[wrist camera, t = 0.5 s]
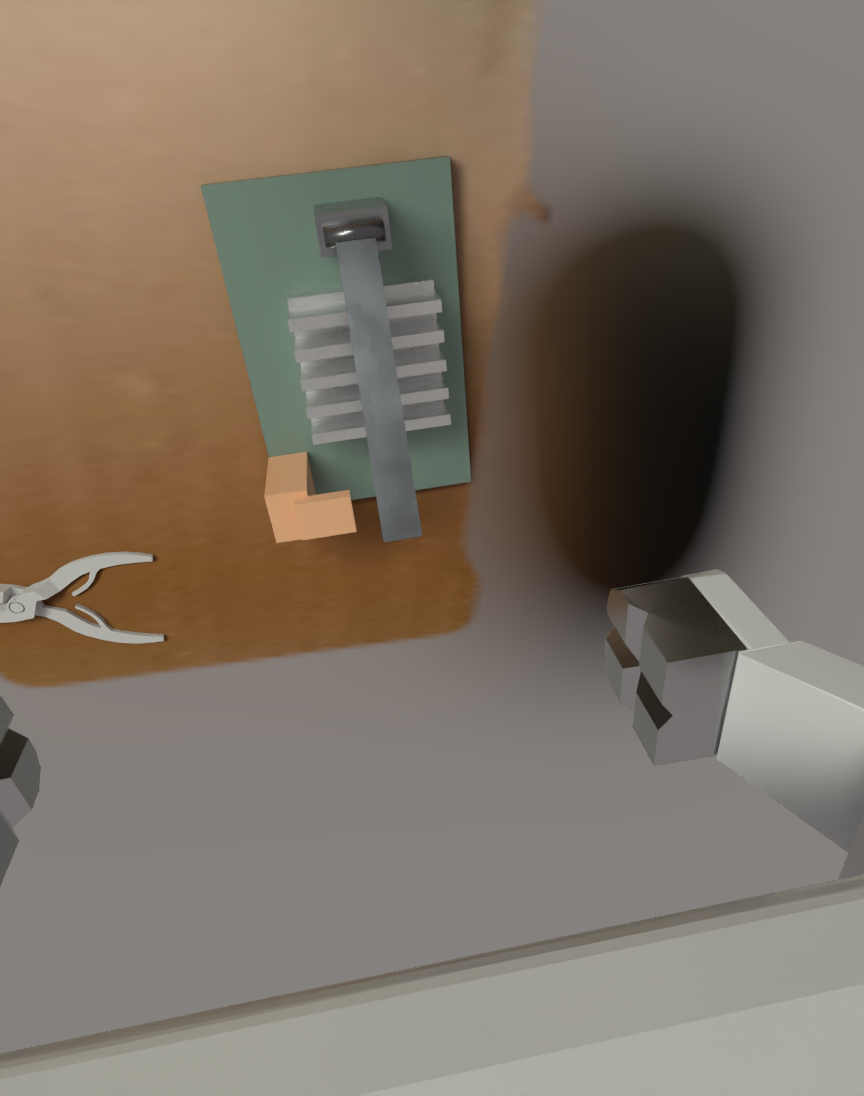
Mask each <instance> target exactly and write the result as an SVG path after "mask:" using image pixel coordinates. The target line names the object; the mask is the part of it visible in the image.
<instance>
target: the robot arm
mask: <svg viewBox="0 0 864 1096" xmlns="http://www.w3.org/2000/svg"><path fill="white" fill-rule="evenodd" d="M607 614H608V615H609V617H610V619H611V620H612V622H613V624H614V626H615V627H614V628H613V629H612V630H611V632H610V633H609V634H608V635H607V637H606V638H605V659H606V664H607V671H608V676H609V678H610V682H611V684H612V687H613V690H614V692H615V694H616V695H617V698H618V699H619V701H620V703H621V704H623V705H625V706H627V707H628V708H630V709H632V710H634V711H635V712H634V724H633V728H634V730H635V732H636V734H637V735H638V737H639V739H640V741H641V743H642V745H643V746H644V748H645V750H646V752H647V754H648V756H649V757H650V759H651V761H652V763H653V765H654V766H656V765H662V764H668V763H674V762H680V761H686V760H692V759H699V758H705V757H711V756H717V760H719V761H720V762H722V763H723V764H724V765H726V766H727V767H729V768H730V769H731V770H733V771H734V772H736V773H737V774H739V775H740V776H741V777H743V778H744V779H745V780H747V781H748V782H750V783H751V784H753V785H754V786H755V787H757V788H758V789H759V790H761V791H762V792H764V793H765V794H767V795H768V796H769V797H771V798H772V799H774V800H775V801H776V802H778V803H779V804H781V805H782V806H783V807H785V808H786V809H788V810H789V811H790V812H792V813H793V814H795V815H796V816H797V817H799V818H800V819H802V820H803V821H804V822H806V823H807V824H809V825H810V826H811V827H813V828H814V829H816V830H817V831H819V832H820V833H821V834H823V835H824V836H825V837H827V838H828V839H830V840H831V841H832V842H834V843H835V844H837V845H838V846H840V847H841V848H842V849H844V850H845V851H846V852H848V855H847V858H846V860H845V862H844V865H843V867H842V870H841V872H840V875H839V877H838V879H837V880H833V881H828V882H823V883H818V884H813V885H808V886H804V887H799V888H794V889H789V890H785V891H780V892H775V893H770V894H765V895H760V896H756V897H751V898H746V899H741V900H736V901H731V902H727V903H722V904H717V905H712V906H707V907H703V908H698V909H693V910H688V911H683V912H678V913H674V914H669V915H664V916H659V917H654V918H649V919H645V920H640V921H635V922H630V923H626V924H621V925H616V926H611V927H606V928H602V929H597V930H592V931H587V932H582V933H577V934H573V935H568V936H563V937H558V938H553V939H548V940H544V941H539V942H534V943H529V944H524V945H520V946H515V947H510V948H505V949H501V950H496V951H491V952H486V953H481V954H476V955H471V956H467V957H462V958H457V959H452V960H447V961H443V962H438V963H434V964H428V965H423V966H419V967H414V968H410V969H404V970H399V971H394V972H390V973H385V974H380V975H375V976H370V977H366V978H361V979H356V980H351V981H346V982H342V983H337V984H332V985H327V986H322V987H318V988H313V989H308V990H303V991H299V992H294V993H289V994H284V995H279V996H274V997H269V998H265V999H260V1000H255V1001H250V1002H245V1003H241V1004H236V1005H231V1006H227V1007H222V1008H217V1009H212V1010H207V1011H202V1012H197V1013H193V1014H188V1015H184V1016H179V1017H173V1018H169V1019H164V1020H159V1021H155V1022H150V1023H145V1024H140V1025H135V1026H130V1027H125V1028H121V1029H116V1030H111V1031H106V1032H101V1033H97V1034H92V1035H87V1036H82V1037H78V1038H72V1039H68V1040H63V1041H58V1042H54V1043H49V1044H44V1045H39V1046H34V1047H29V1048H24V1049H19V1050H15V1051H10V1052H5V1053H0V1096H864V666H861V665H859V664H856V663H854V662H851V661H849V660H847V659H844V658H842V657H839V656H837V655H835V654H832V653H830V652H827V651H825V650H822V649H820V648H818V647H815V646H813V645H810V644H808V643H805V642H803V641H797V642H791V643H790V642H789V641H788V640H787V639H786V638H785V636H784V635H783V634H782V633H781V632H780V631H779V630H778V629H777V628H776V627H775V626H774V625H773V624H772V623H771V621H770V620H769V619H768V618H767V617H766V616H765V615H764V614H763V613H762V612H761V611H760V610H759V609H758V608H757V606H756V605H755V604H754V603H753V602H752V601H751V600H750V599H749V598H748V597H747V596H746V595H745V594H744V592H743V591H742V590H741V589H740V588H739V587H738V586H737V585H736V584H735V583H734V582H733V581H732V580H731V578H730V577H729V576H728V575H727V574H726V573H724V572H722V571H720V570H717V569H716V570H711V571H706V572H701V573H695V574H690V575H685V576H682V577H681V578H674V579H668V580H662V581H657V582H651V583H645V584H640V585H634V586H628V587H622V588H616V589H612V590H611V592H610V595H609V597H608V607H607ZM13 715H14V714H13V713H12V711H11V710H10V708H9V707H8V706H7V704H6V703H5V701H4V700H3V698H2V697H0V886H1V883H2V881H3V878H4V876H5V873H6V871H7V869H8V866H9V864H10V861H11V859H12V857H13V854H14V852H15V849H16V847H17V844H18V842H19V840H18V837H17V835H16V833H15V831H14V829H13V827H14V826H15V825H16V824H17V823H18V822H19V821H20V820H21V819H23V818H24V817H25V816H26V815H27V814H28V813H29V812H30V811H31V810H32V808H33V805H34V803H35V800H36V797H37V795H38V792H39V785H40V769H41V767H40V764H39V760H38V756H37V753H36V750H35V749H34V747H33V745H32V744H31V742H30V740H29V739H28V738H27V737H25V736H23V735H21V734H19V733H17V732H15V731H13V730H11V729H9V727H10V724H11V721H12V718H13Z"/></svg>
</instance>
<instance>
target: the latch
mask: <svg viewBox="0 0 864 1096" xmlns="http://www.w3.org/2000/svg"><path fill="white" fill-rule="evenodd" d="M264 497H265V501H266V505H267V508H268V512H269V516H270V520H271V523H272V527H273V531H274V535H275V538H276V542H277V543H280V542H286V541H293V540H299V539H302V540H308V539H314V538H321V537H327V536H333V535H340V534H346V533H352V532H357V531H356V523H355V518H354V512H353V507H352V501H351V496H350V490H344V491H338V492H331V493H325V494H318V495H316V492H315V487H314V482H313V478H312V473H311V468H310V464H309V459H308V455H307V452H301V453H294V454H287V455H281V456H274V457H269V461H268V469H267V478H266V486H265V495H264Z"/></svg>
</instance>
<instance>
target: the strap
mask: <svg viewBox="0 0 864 1096" xmlns="http://www.w3.org/2000/svg"><path fill="white" fill-rule="evenodd" d="M323 232H324V238H325V244H326V249H329V248H336V249H337V255H338V261H339V267H340V274H341V280H342V286H343V292H344V299H345V305H346V311H347V317H348V324H349V330H350V336H351V342H352V349H353V355H354V361H355V367H356V374H357V380H358V386H359V392H360V398H361V405H362V411H363V417H364V423H365V430H366V436H367V442H368V448H369V455H370V461H371V467H372V473H373V480H374V486H375V492H376V498H377V505H378V511H379V517H380V523H381V530H382V536H383V542H389V541H395V540H402V539H408V538H414V537H420V536H422V531H421V525H420V518H419V512H418V506H417V499H416V493H415V486H414V480H413V474H412V467H411V461H410V454H409V448H408V441H407V435H406V429H405V422H404V416H403V409H402V403H401V397H400V390H399V384H398V377H397V371H396V364H395V358H394V352H393V345H392V339H391V332H390V326H389V319H388V313H387V307H386V300H385V294H384V287H383V281H382V275H381V268H380V262H379V255H378V249H377V242H384V241H386V235H385V227H384V221H383V219H382V220H374V221H366V222H358V223H350V224H341V225H333V226H325V227H323Z"/></svg>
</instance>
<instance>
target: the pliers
mask: <svg viewBox="0 0 864 1096" xmlns="http://www.w3.org/2000/svg"><path fill="white" fill-rule="evenodd" d="M151 561H153V554H146V553H136V552H111V553H102V554H97V555H92V556H88V557H84V558H81V559H78V560H75V561H72V562H70V563H68V564H66V565H64V566H62V567H61V568H59V569H58V570H57V571H56V572H55V573H54V574H53V575H52V576H50V577H49V578H47V579H45V580H43V581H41V582H39V583H35V584H32V585H31V586H29V587H23V586H18V585H13V584H0V603H4V602H6V601H8V600H9V601H8V603H5V604H1V605H0V623H4V622H18V621H22V620H27V619H32V618H34V617H35V615H37V616H43V617H47V618H50V619H52V620H55V621H57V622H60V623H61V624H63V625H65V626H66V627H68V628H70V629H71V630H73V631H76V632H78V633H81V634H83V635H86V636H90V637H93V638H97V639H102V640H107V641H113V642H120V643H151V642H159V641H164V634H149V633H138V632H129V631H123V630H118V629H113V628H112V627H110V626H109V625H108V624H107V623H106V622H105V620H104V619H103V618H102V617H101V616H100V615H98V614H97V613H96V612H95V611H93V610H91V609H89V608H87V607H85V606H82V605H80V604H76V606H75V608H76V609H79V610H81V611H83V612H85V613H87V614H89V615H91V616H92V617H93V618H94V619H95V620H97V621H98V623H99V625H98V624H95V623H92V622H90V621H88V620H86V619H84V618H82V617H80V616H79V615H77V614H75V613H73V612H71V611H70V610H68V609H65V608H59V607H53V606H48V605H44V604H43V602H42V601H41V600H45V599H48V598H49V597H51V596H53V595H54V594H56V593H58V592H59V591H61V590H62V589H63V588H65V587H66V586H67V585H68V584H70V583H71V582H72V581H74V580H75V579H76V578H78V577H79V576H81V575H83V574H86V573H88V572H90V575H89V580H88V581H87V583H86V584H85V585H83V586H82V587H81V588H79V589H77V590H75V591H73V593H72V595H73V596H75V595H77V594H79V593H81V592H83V591H84V590H86V589H87V588H88V587H89V586H90V585H91V583H92V582H93V581H94V578H95V576H96V573H97V572H98V571H99V569H101V568H106V567H110V566H115V565H120V564H129V563H138V562H151Z"/></svg>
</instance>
